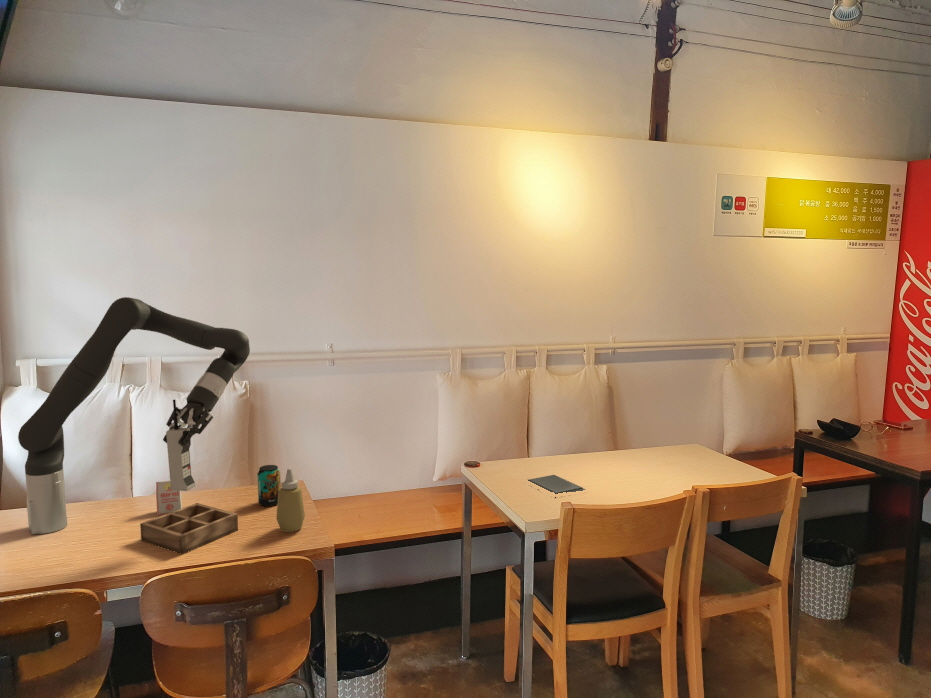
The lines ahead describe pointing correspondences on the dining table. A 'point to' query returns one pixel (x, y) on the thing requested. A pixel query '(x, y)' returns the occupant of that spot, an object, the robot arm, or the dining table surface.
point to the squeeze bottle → (290, 504)
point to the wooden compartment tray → (189, 527)
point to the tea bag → (167, 498)
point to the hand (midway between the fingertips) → (173, 443)
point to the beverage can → (268, 485)
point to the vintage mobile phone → (179, 458)
